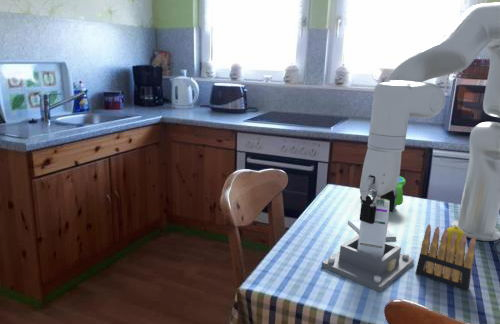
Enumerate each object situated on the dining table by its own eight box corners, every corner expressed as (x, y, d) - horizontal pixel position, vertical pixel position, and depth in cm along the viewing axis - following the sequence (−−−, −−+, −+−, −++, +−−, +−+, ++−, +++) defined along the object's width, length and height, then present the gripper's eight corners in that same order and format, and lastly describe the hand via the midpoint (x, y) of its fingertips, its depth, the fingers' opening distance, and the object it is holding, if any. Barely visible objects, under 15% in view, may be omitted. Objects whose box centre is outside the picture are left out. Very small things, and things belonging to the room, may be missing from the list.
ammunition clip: (415, 273, 93) (423, 224, 90) (417, 270, 94) (426, 221, 91) (467, 291, 87) (478, 239, 84) (469, 288, 88) (480, 236, 85)
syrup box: (381, 269, 91) (391, 207, 88) (354, 263, 93) (362, 203, 89) (382, 257, 97) (391, 199, 93) (356, 252, 98) (364, 195, 95)
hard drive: (396, 236, 109) (373, 218, 121) (368, 237, 108) (348, 219, 119) (395, 242, 110) (373, 223, 122) (367, 243, 108) (347, 224, 120)
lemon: (463, 255, 103) (469, 225, 101) (461, 264, 99) (468, 233, 97) (439, 249, 106) (444, 220, 104) (436, 257, 101) (442, 227, 99)
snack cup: (410, 216, 128) (415, 184, 125) (378, 215, 126) (383, 184, 124) (387, 198, 143) (392, 170, 140) (359, 198, 141) (362, 170, 139)
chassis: (359, 243, 106) (361, 226, 105) (413, 263, 97) (416, 245, 96) (321, 266, 93) (323, 247, 92) (379, 292, 84) (383, 271, 83)
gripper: (387, 133, 97) (378, 202, 101) (350, 144, 84) (342, 221, 89) (419, 139, 92) (408, 211, 96) (385, 150, 79) (375, 232, 84)
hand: (376, 216), depth 92 cm, fingers open, 9 cm apart
